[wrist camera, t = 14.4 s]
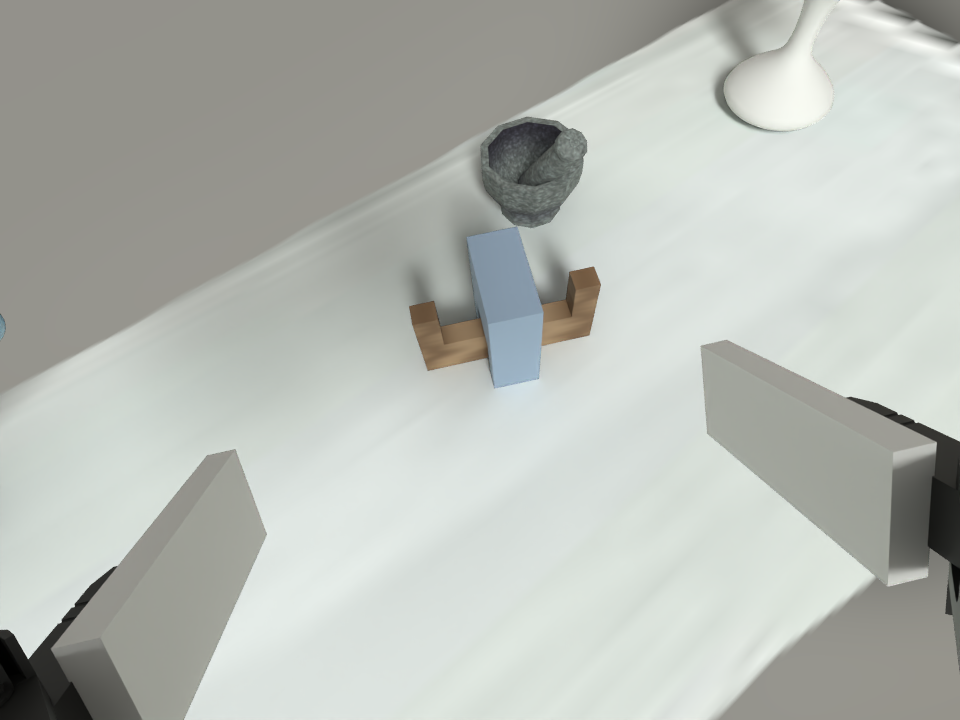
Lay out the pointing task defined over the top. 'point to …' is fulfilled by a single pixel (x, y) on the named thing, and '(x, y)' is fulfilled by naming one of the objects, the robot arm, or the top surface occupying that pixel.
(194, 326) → the top surface
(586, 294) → the wooden drawer pull
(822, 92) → the flower in vase
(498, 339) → the slotted block
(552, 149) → the mortar and pestle
